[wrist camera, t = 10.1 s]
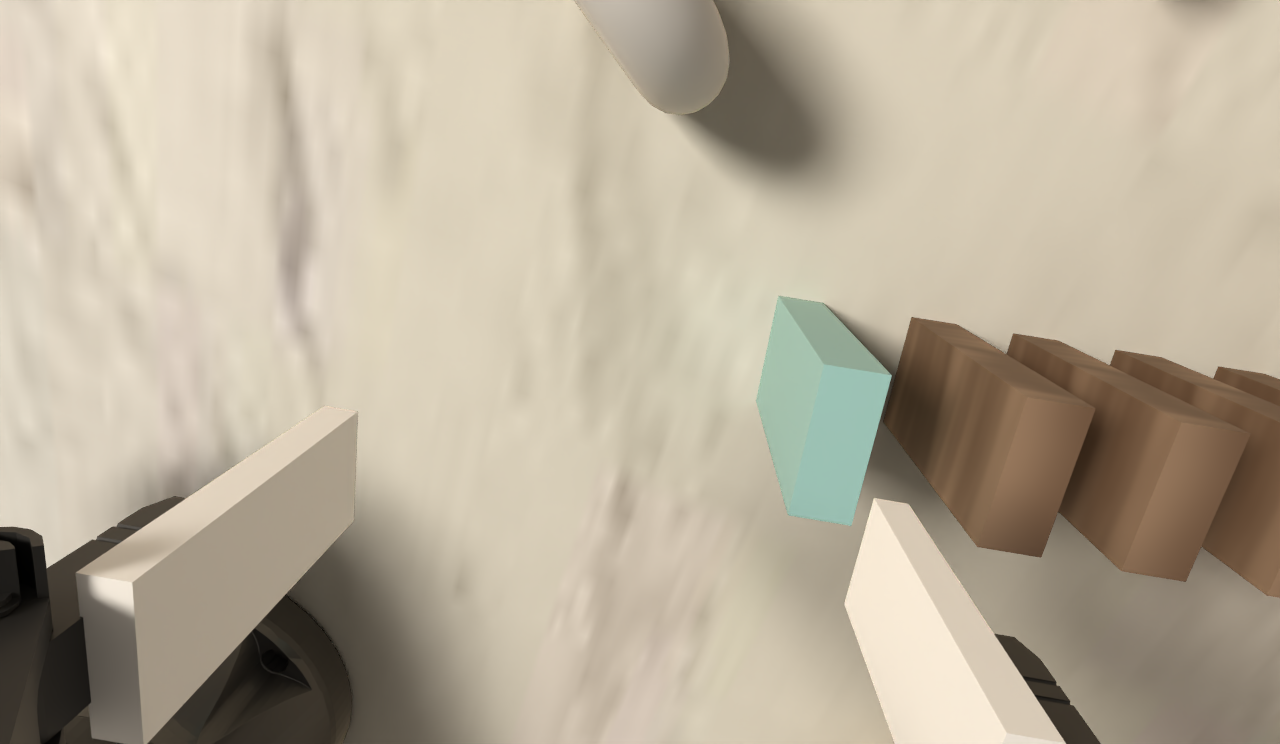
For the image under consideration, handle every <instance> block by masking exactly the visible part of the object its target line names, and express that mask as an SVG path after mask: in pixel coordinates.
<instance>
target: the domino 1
mask: <svg viewBox="0 0 1280 744" xmlns="http://www.w3.org/2000/svg"><path fill="white" fill-rule="evenodd" d="M1095 409H1096V408H1094V407H1093V406H1091V405H1089V404H1088V403H1086V402H1084V401H1083V400H1081V399H1079V398H1078V397H1076V396H1074V395H1073V394H1071V393H1069V392H1068V391H1066V390H1064V389H1063V388H1061V387H1060V386H1058V385H1056V384H1055V383H1053V382H1051V381H1050V380H1048V379H1046V378H1045V377H1043V376H1041V375H1040V374H1038V373H1036V372H1035V371H1033V370H1031V369H1030V368H1028V367H1026V366H1025V365H1023V364H1021V363H1020V362H1018V361H1016V360H1015V359H1013V358H1012V357H1010V356H1008V355H1007V354H1005V353H1003V352H1002V351H1000V350H998V349H997V348H995V347H993V346H992V345H990V344H988V343H987V342H985V341H983V340H982V339H980V338H978V337H977V336H975V335H973V334H972V333H970V332H968V331H967V330H965V329H964V328H962V327H960V326H959V325H957V324H951V323H945V322H939V321H932V320H926V319H920V318H914V317H912V318H911V321H910V325H909V329H908V332H907V336H906V340H905V343H904V347H903V351H902V354H901V358H900V362H899V365H898V369H897V373H896V377H895V380H894V384H893V388H892V391H891V395H890V399H889V402H888V406H887V410H886V413H885V417H884V421H883V422H884V423H885V425H886V426H887V427H888V429H889V430H890V431H891V433H892V434H893V435H894V437H895V438H896V439H897V441H898V442H899V443H900V445H901V446H902V447H903V449H904V450H905V451H906V453H907V454H908V455H909V457H910V458H911V459H912V461H913V462H914V463H915V465H916V466H917V467H918V469H919V470H920V471H921V473H922V474H923V475H924V477H925V478H926V479H927V481H928V482H929V483H930V485H931V486H932V487H933V489H934V490H935V491H936V493H937V494H938V495H939V497H940V498H941V499H942V501H943V502H944V503H945V505H946V506H947V507H948V509H949V510H950V511H951V513H952V514H953V515H954V517H955V518H956V519H957V521H958V522H959V523H960V525H961V526H962V527H963V529H964V530H965V531H966V533H967V534H968V535H969V536H970V538H971V539H972V540H973V542H974V543H975V544H976V546H977V547H981V548H987V549H993V550H999V551H1005V552H1011V553H1017V554H1023V555H1029V556H1035V557H1042V554H1043V551H1044V548H1045V546H1046V543H1047V540H1048V538H1049V535H1050V532H1051V529H1052V527H1053V524H1054V521H1055V518H1056V516H1057V513H1058V510H1059V508H1060V505H1061V502H1062V499H1063V497H1064V494H1065V491H1066V488H1067V486H1068V483H1069V480H1070V478H1071V475H1072V472H1073V469H1074V467H1075V464H1076V461H1077V458H1078V456H1079V453H1080V450H1081V448H1082V445H1083V442H1084V439H1085V437H1086V434H1087V431H1088V428H1089V426H1090V423H1091V420H1092V418H1093V415H1094V412H1095Z"/></svg>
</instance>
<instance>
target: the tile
mask: <svg viewBox="0 0 1280 744" xmlns="http://www.w3.org/2000/svg"><path fill="white" fill-rule="evenodd" d="M891 377H892V375H891V374H890V373H889V372H888V371H887V370H886V369H885V368H884V367H883V366H882V364H881V363H880V362H879V361H878V360H877V359H876V358H875V357H874V356H873V355H872V354H871V353H870V352H869V351H868V350H867V349H866V348H865V347H864V346H863V344H862V343H861V342H860V341H859V340H858V339H857V338H856V337H855V336H854V335H853V334H852V333H851V332H850V331H849V330H848V329H847V328H846V327H845V325H844V324H843V323H842V322H841V321H840V320H839V319H838V318H837V317H836V316H835V315H834V314H833V313H832V312H831V311H830V310H829V309H828V308H827V307H826V305H825V304H824V303H820V302H814V301H807V300H801V299H795V298H789V297H783V296H778V300H777V305H776V310H775V314H774V319H773V324H772V329H771V333H770V338H769V343H768V348H767V352H766V357H765V362H764V366H763V371H762V376H761V381H760V385H759V390H758V395H757V399H756V402H757V406H758V409H759V413H760V416H761V420H762V424H763V427H764V431H765V434H766V438H767V442H768V445H769V449H770V452H771V456H772V460H773V463H774V467H775V470H776V474H777V478H778V481H779V485H780V488H781V492H782V495H783V499H784V503H785V506H786V510H787V513H788V515H790V516H796V517H802V518H808V519H814V520H820V521H826V522H831V523H837V524H843V525H849V526H851V525H852V521H853V517H854V514H855V510H856V506H857V503H858V499H859V495H860V492H861V488H862V484H863V480H864V477H865V473H866V469H867V466H868V462H869V458H870V454H871V451H872V447H873V443H874V440H875V436H876V432H877V429H878V425H879V421H880V417H881V414H882V410H883V406H884V403H885V399H886V395H887V391H888V388H889V384H890V380H891Z"/></svg>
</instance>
